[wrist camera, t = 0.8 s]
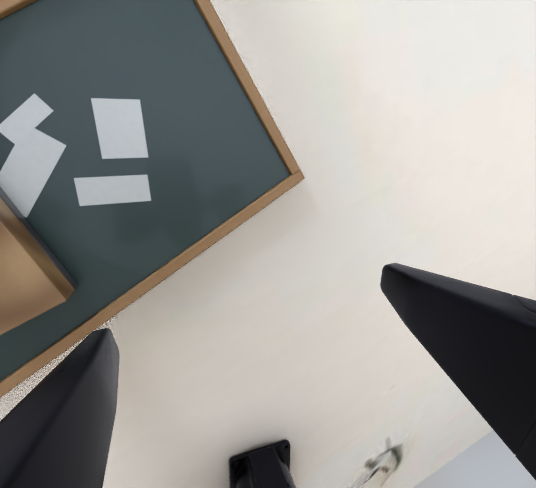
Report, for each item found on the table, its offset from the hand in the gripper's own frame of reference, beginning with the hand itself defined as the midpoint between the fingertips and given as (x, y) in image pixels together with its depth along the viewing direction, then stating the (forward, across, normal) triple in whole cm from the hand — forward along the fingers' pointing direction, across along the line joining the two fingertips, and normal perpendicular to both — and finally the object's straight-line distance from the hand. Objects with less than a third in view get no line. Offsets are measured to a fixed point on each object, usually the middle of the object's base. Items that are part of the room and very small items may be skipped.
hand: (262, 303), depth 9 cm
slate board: (+14, +9, -2) cm, 17 cm away
